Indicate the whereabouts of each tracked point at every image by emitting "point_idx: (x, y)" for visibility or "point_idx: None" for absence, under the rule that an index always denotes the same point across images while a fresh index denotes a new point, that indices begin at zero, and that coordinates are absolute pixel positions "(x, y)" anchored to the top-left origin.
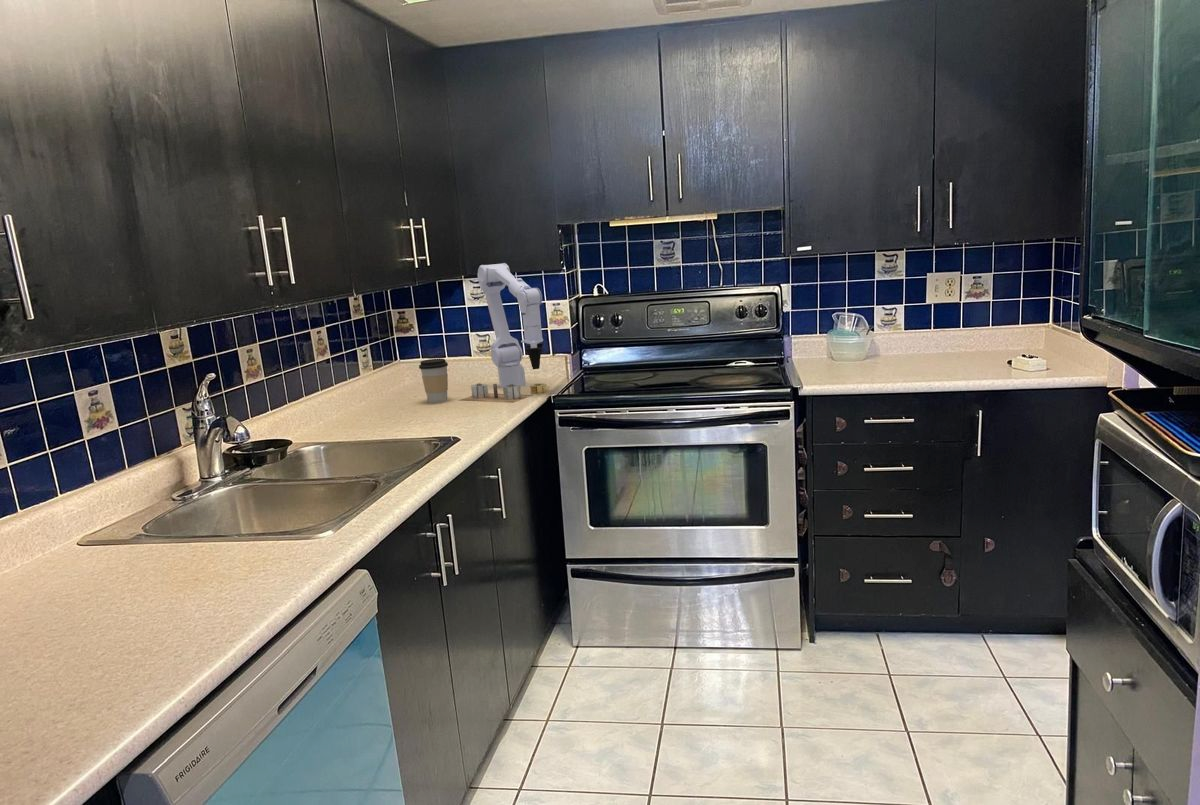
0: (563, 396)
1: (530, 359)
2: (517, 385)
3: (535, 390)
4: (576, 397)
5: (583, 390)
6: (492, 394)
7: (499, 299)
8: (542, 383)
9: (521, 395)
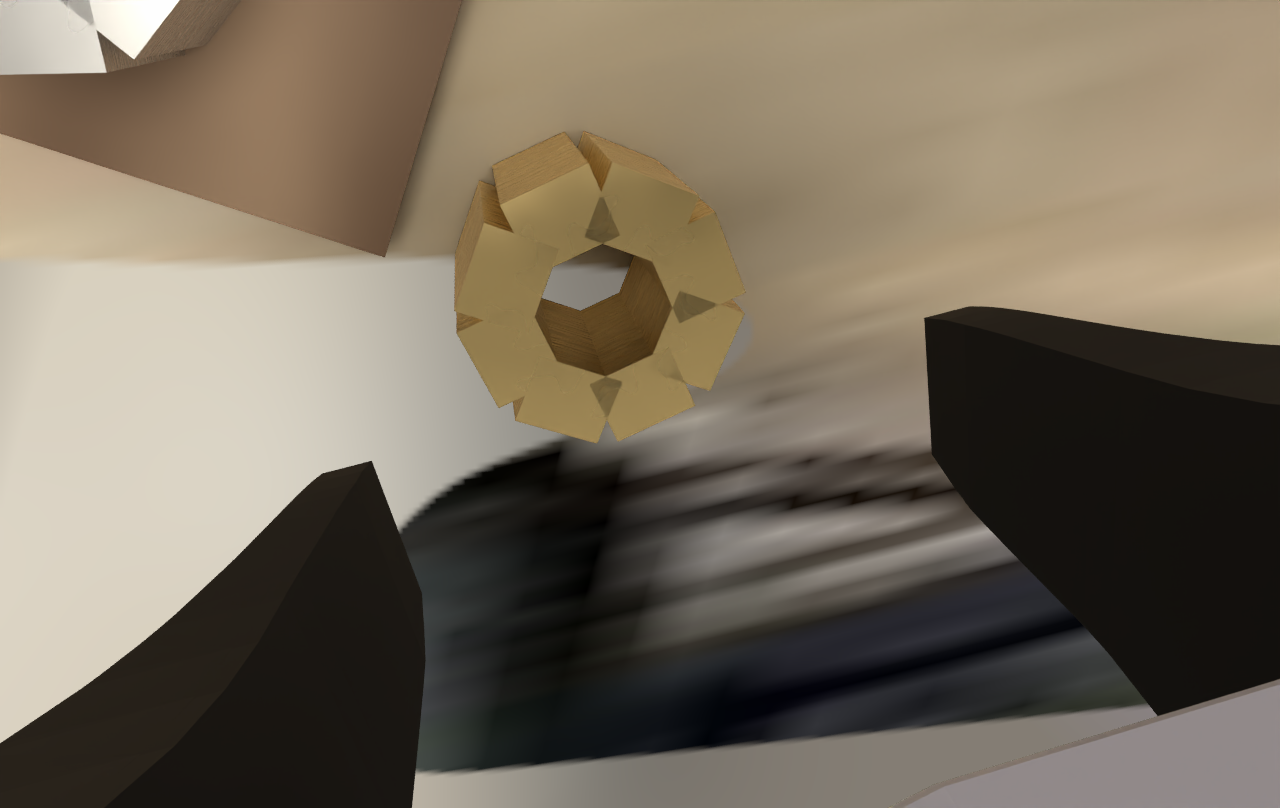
0: (530, 573)
1: (155, 643)
2: (47, 23)
3: (457, 277)
4: (436, 725)
5: (832, 688)
6: None
7: None
8: (719, 358)
9: (353, 24)
